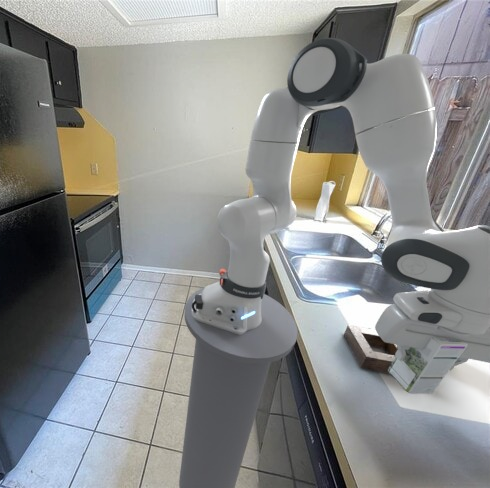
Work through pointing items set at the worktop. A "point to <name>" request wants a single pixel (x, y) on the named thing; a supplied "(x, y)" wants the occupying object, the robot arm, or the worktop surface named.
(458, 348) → the syrup box
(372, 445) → the worktop surface
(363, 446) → the worktop surface
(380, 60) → the robot arm
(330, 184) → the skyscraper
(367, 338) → the socket pad
